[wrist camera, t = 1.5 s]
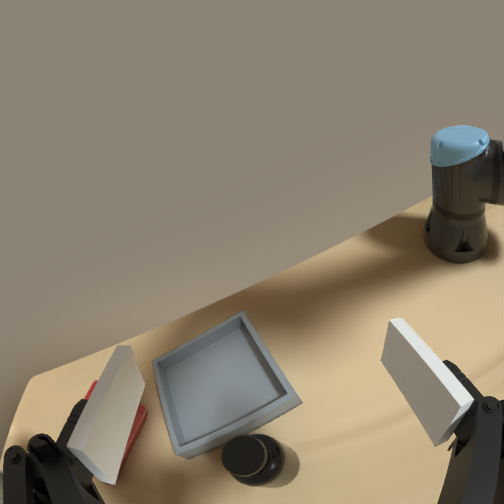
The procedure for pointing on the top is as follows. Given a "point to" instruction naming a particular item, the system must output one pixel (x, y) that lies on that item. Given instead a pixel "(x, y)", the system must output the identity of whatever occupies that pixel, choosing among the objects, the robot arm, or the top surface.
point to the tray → (220, 387)
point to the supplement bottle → (260, 461)
